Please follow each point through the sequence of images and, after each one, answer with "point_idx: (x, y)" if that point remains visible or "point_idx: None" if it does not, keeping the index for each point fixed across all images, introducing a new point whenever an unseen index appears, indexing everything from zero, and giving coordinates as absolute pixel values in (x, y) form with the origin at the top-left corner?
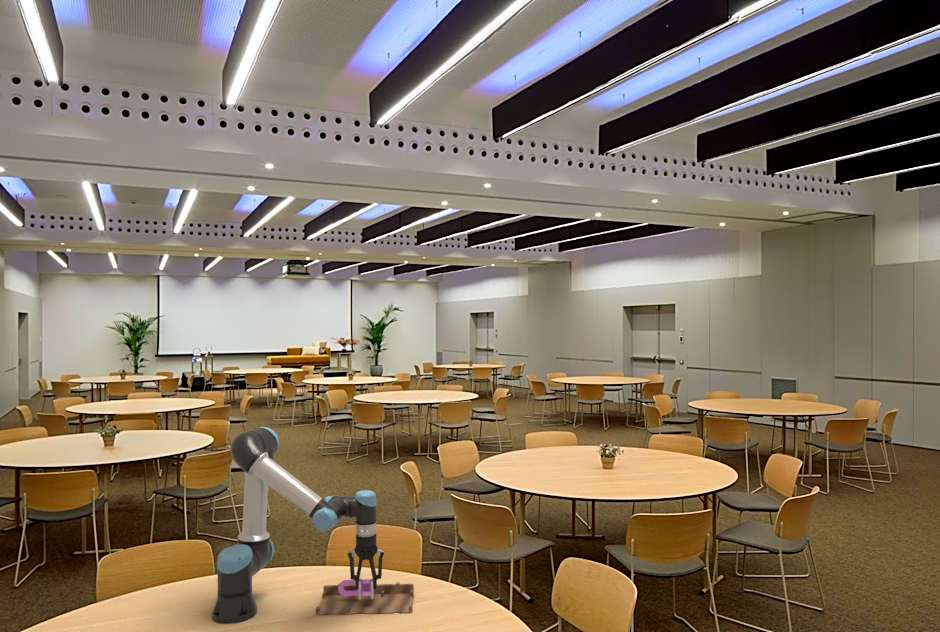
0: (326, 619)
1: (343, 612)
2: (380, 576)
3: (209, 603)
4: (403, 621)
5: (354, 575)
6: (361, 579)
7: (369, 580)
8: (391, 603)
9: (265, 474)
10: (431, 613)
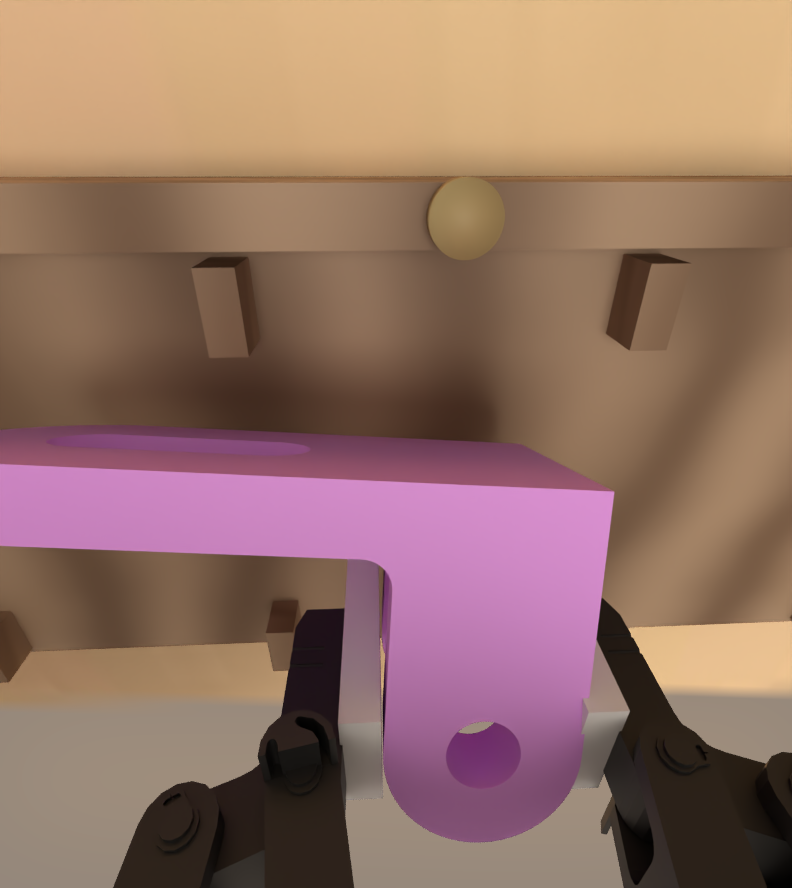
0: (138, 651)
1: (248, 635)
2: (788, 880)
3: None
4: (701, 664)
5: (225, 884)
6: (380, 728)
7: (541, 798)
8: (688, 491)
9: None
10: None
